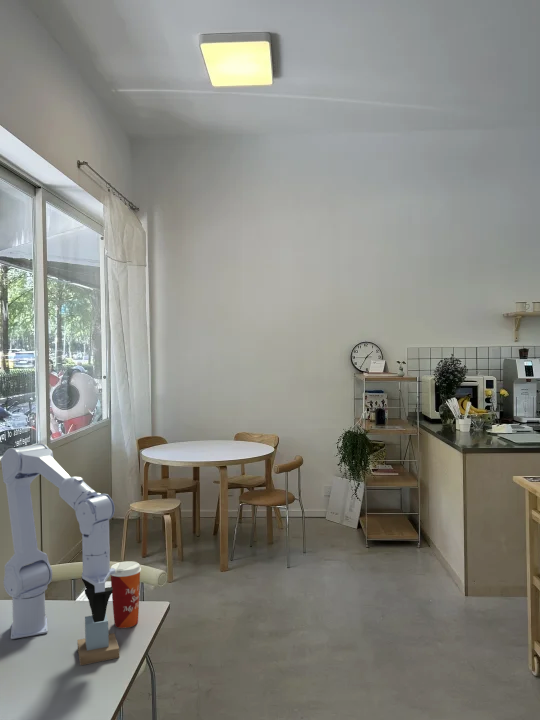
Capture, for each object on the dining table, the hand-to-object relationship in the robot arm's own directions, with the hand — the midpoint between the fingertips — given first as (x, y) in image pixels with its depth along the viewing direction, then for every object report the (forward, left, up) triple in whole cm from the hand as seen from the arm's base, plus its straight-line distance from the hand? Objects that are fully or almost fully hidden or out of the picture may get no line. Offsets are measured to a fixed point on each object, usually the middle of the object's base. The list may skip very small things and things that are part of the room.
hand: (97, 614), depth 128 cm
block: (0, 0, -7) cm, 7 cm away
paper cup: (-13, +8, -9) cm, 18 cm away
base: (0, 0, -9) cm, 9 cm away
